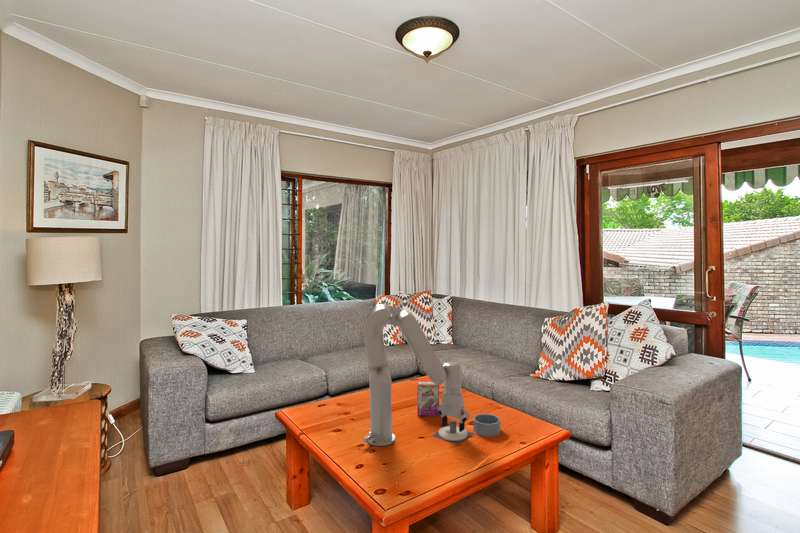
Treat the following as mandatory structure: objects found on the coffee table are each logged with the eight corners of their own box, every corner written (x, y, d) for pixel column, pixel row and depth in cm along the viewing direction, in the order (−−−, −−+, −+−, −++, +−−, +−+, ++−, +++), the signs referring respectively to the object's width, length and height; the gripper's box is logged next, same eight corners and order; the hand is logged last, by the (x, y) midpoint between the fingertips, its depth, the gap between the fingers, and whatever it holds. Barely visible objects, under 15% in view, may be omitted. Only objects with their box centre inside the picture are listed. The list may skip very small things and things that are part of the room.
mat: (458, 446, 178) (458, 444, 178) (431, 437, 187) (431, 435, 187) (474, 434, 188) (474, 433, 188) (448, 426, 197) (448, 425, 197)
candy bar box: (417, 416, 210) (417, 384, 210) (418, 412, 215) (417, 381, 215) (439, 416, 209) (439, 384, 209) (439, 413, 214) (439, 381, 214)
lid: (457, 444, 178) (457, 429, 178) (433, 435, 187) (432, 422, 186) (473, 433, 188) (472, 420, 188) (448, 426, 197) (448, 413, 196)
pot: (492, 440, 183) (492, 426, 183) (468, 432, 190) (468, 420, 190) (504, 430, 192) (504, 418, 192) (481, 424, 200) (481, 411, 199)
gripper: (432, 388, 189) (432, 426, 190) (465, 396, 178) (465, 436, 179) (441, 384, 195) (441, 420, 196) (473, 391, 184) (474, 430, 185)
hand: (453, 428), depth 187 cm, fingers open, 8 cm apart
